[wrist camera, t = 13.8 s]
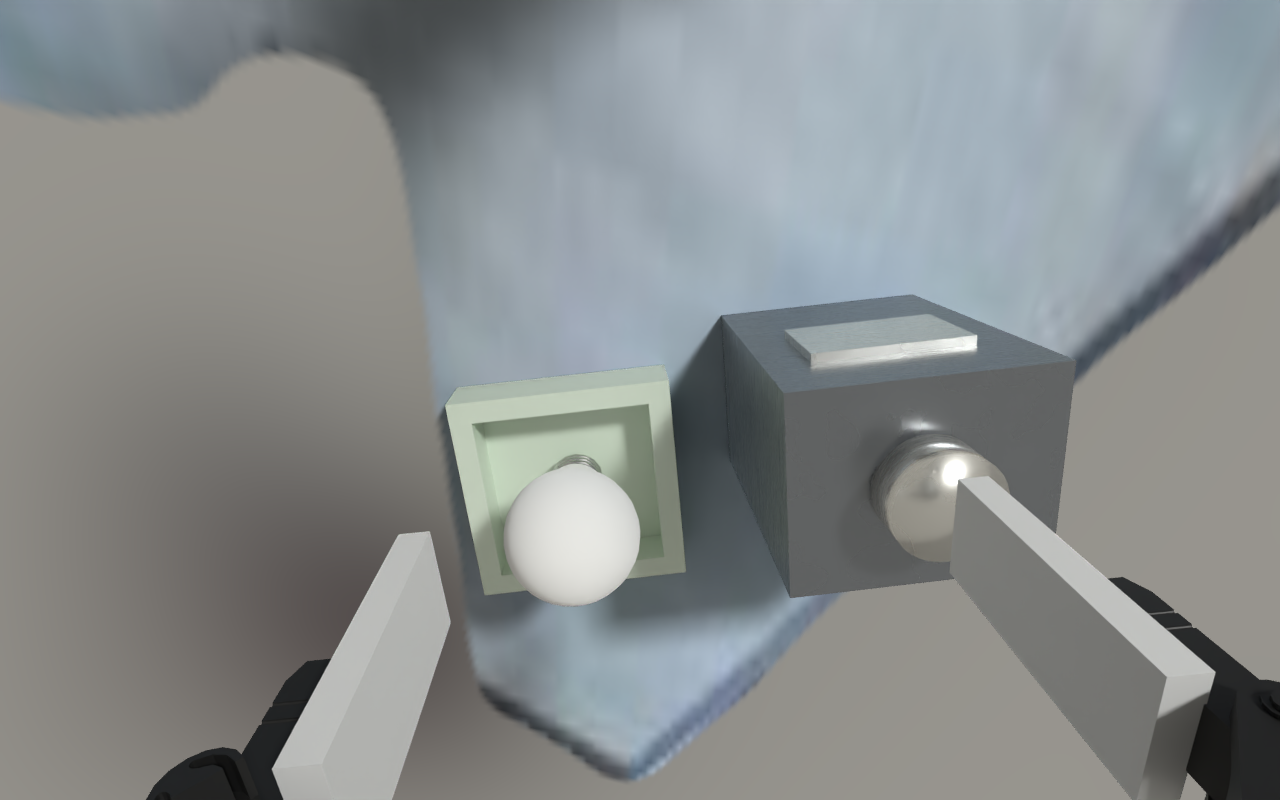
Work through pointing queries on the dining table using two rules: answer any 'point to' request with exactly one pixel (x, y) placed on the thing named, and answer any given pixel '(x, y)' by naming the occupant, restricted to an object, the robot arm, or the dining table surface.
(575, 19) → the dining table surface
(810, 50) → the dining table surface
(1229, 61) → the dining table surface
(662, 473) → the tray
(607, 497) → the light bulb
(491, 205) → the dining table surface
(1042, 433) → the housing
